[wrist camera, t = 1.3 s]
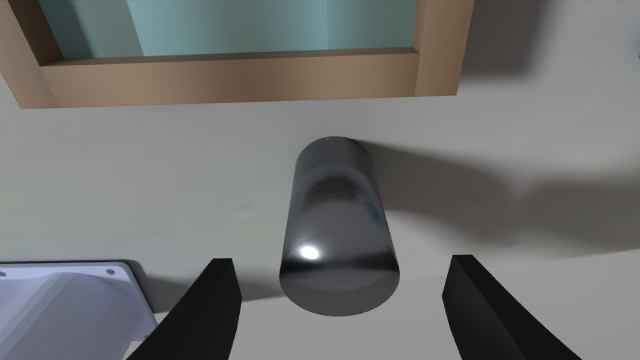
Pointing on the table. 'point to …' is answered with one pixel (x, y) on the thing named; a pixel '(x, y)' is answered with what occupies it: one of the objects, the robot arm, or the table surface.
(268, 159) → the table surface
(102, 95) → the bore box
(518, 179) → the table surface
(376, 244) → the peg
